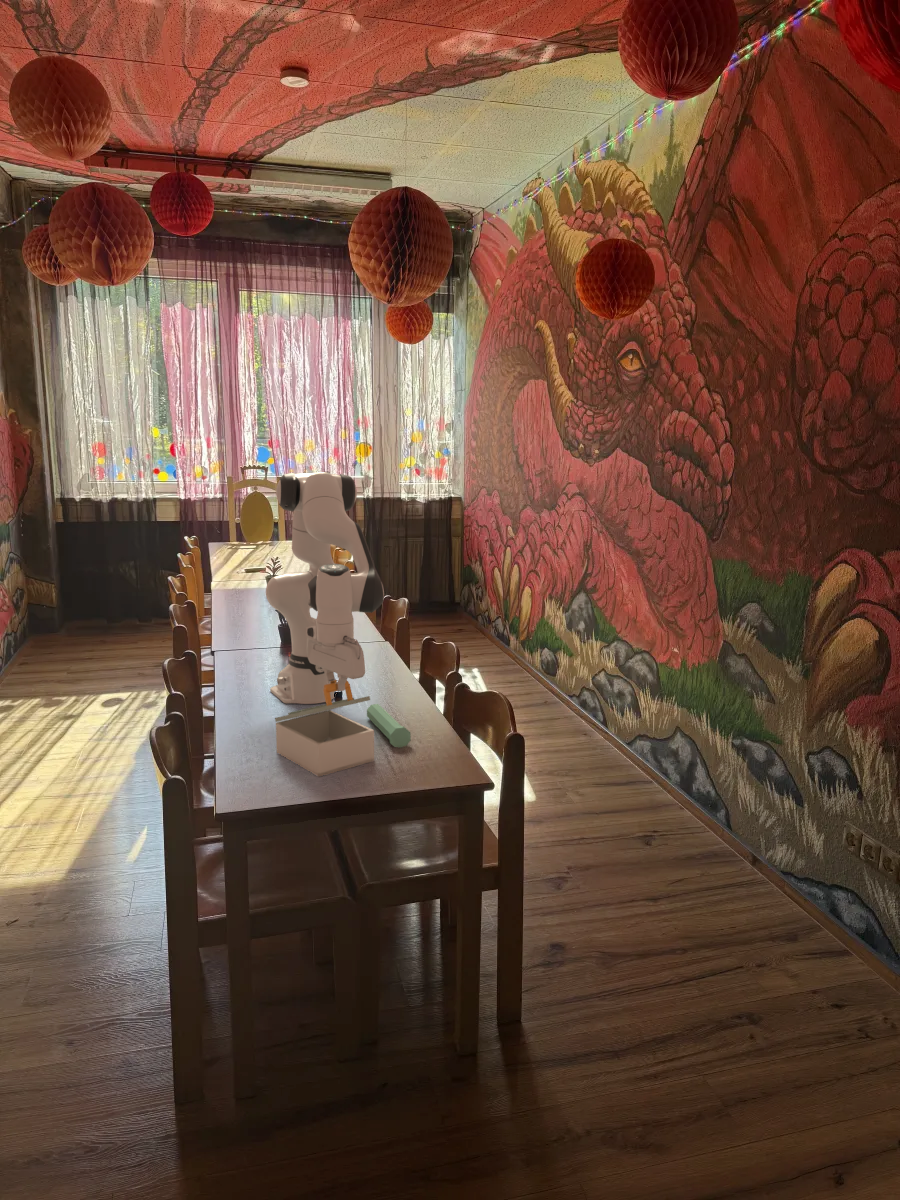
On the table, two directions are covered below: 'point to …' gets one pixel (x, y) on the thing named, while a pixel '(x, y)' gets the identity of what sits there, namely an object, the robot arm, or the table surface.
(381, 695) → the table surface
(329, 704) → the lid
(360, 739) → the parts tub
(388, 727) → the green octagonal rod
